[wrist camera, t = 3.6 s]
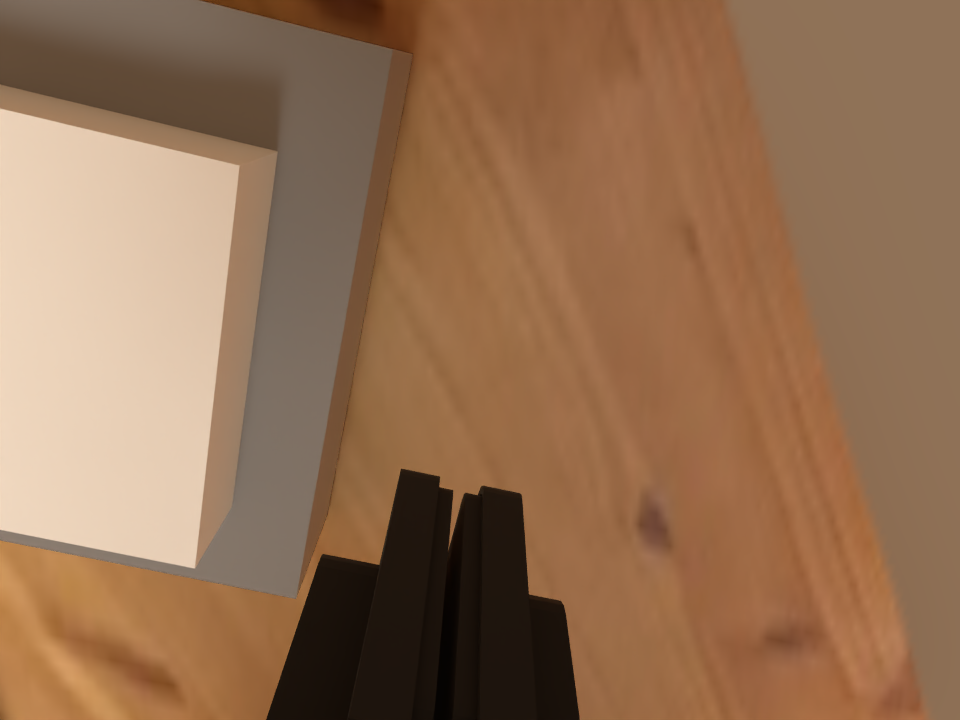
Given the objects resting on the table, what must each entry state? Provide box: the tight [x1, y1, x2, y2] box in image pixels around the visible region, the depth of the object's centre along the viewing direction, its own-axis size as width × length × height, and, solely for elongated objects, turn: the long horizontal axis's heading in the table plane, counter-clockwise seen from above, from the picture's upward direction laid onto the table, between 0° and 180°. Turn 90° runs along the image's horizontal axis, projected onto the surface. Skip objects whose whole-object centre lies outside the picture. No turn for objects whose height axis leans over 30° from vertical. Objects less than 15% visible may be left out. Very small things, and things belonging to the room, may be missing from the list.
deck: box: [0, 0, 413, 599], centre depth 18 cm, size 16×14×4 cm
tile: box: [0, 85, 278, 568], centre depth 16 cm, size 6×9×2 cm, turn 167°
